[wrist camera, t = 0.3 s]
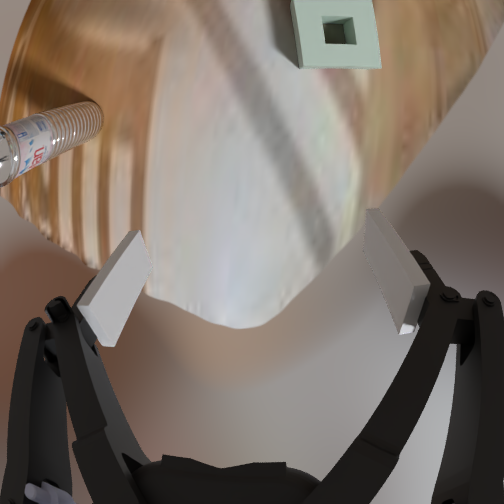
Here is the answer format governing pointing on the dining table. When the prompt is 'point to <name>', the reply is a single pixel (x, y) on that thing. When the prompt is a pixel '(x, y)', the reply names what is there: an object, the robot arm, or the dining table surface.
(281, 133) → the dining table surface
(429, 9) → the dining table surface
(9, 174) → the water bottle
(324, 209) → the dining table surface
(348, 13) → the hole block
